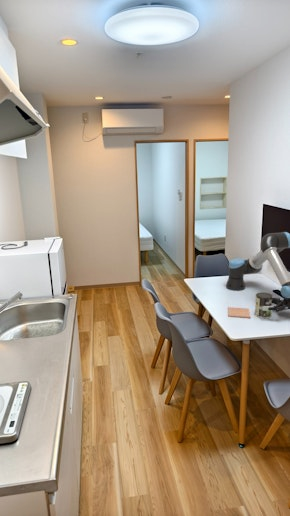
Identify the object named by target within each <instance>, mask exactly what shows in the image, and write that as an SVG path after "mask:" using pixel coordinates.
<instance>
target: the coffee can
mask: <svg viewBox="0 0 290 516" xmlns="http://www.w3.org/2000/svg"><path fill="white" fill-rule="evenodd" d="M272 298H274V297H273V294H271V293H268V292H257V293H256V294H255V299H256V302H255V306H254V316H256V317H258V318H261V319H268V318H271V317H272V310H269V311H263V306H273V305H272V304H273V303H272Z"/></svg>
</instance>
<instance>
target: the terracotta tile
mask: <svg viewBox="0 0 290 516" xmlns="http://www.w3.org/2000/svg"><path fill="white" fill-rule="evenodd" d="M227 316H228V318H240V319H251V314H250V308H247V307H246V308H245V307H231V306H228V307H227Z"/></svg>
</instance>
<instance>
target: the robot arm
mask: <svg viewBox="0 0 290 516" xmlns="http://www.w3.org/2000/svg"><path fill="white" fill-rule="evenodd" d="M260 249H261V250H260V251H258V252H257V253H256V254H255V255H251V256H250V257H249V258H248V259H245V258H241V257H239V258H238V257H237V258H232V259H231V260H230V261H229V263H228V264H229V265H228V279H227V281H226V284H225V287H226V288H225V289H228V290H231V291H243V290H245V289H246V284H245V280H244V278H245V277H244V276H245V275H250V274H258V273H260V272H261V271H262V270H263V264H264V263H265V262H267V261H268V262H269V264H270V266H271V268H272V271H273V273H274V274H275V276H276V278H277V280H278V282H279V284H280V285H281V288H280V294H281V296H282V297H283V299H282V300H281V298H280V297H272V304H274V305H272V306H263V311H269V310H271V311H273V312H275V313H278V312H282V311H286V310H287V311H288V310H290V274H289V272H288V270H287V268H286V266H285V265H284V263H283V260H282V259H281V257H280V255H279V253H281V252H282V251H283V250H285V249H290V233H289V232H287V231H282V232H271V233H270V232H269V233H267V234H265V235H264V236H262V238H261V240H260ZM254 301H255V302H254V303H256V298H255V300H254Z"/></svg>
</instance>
